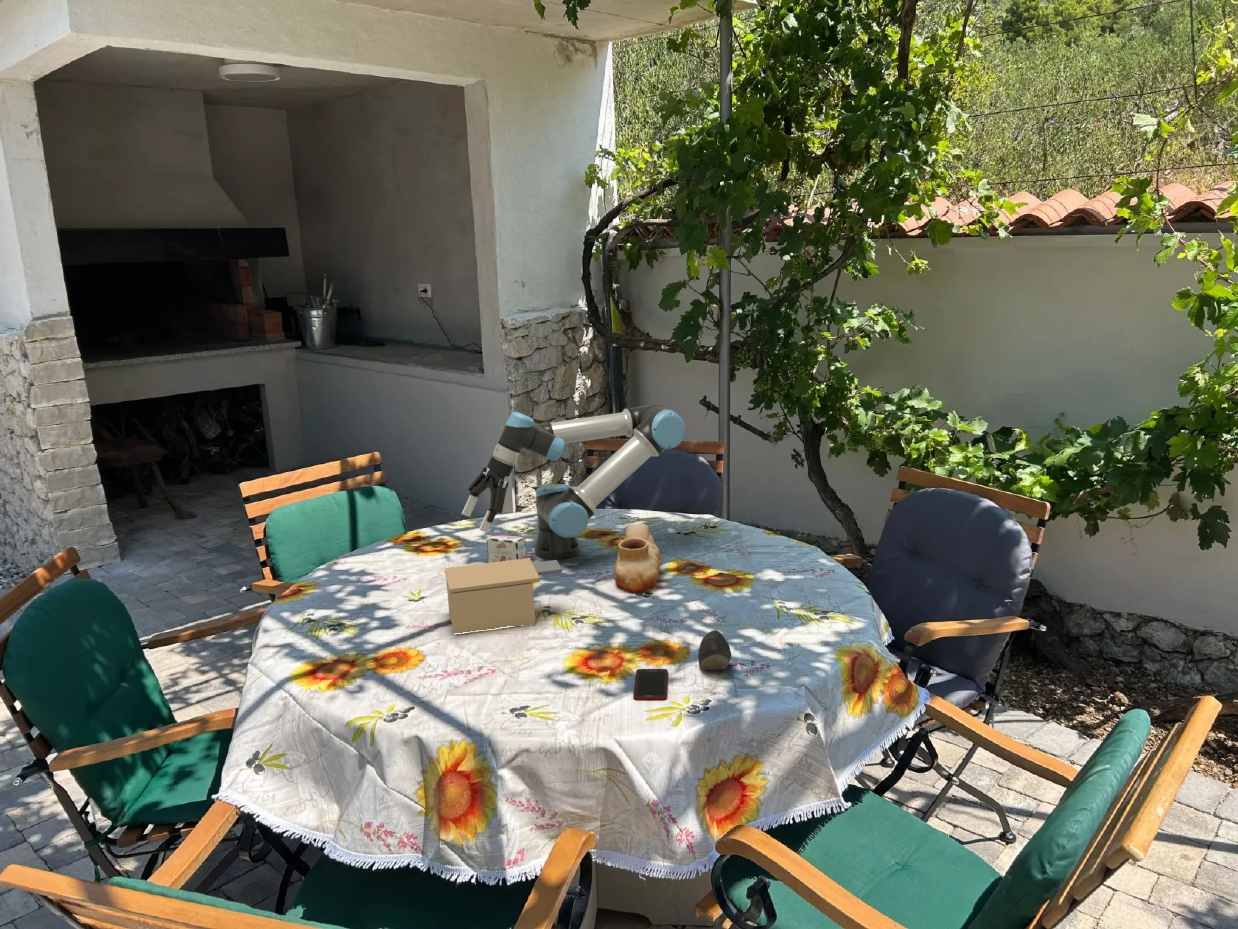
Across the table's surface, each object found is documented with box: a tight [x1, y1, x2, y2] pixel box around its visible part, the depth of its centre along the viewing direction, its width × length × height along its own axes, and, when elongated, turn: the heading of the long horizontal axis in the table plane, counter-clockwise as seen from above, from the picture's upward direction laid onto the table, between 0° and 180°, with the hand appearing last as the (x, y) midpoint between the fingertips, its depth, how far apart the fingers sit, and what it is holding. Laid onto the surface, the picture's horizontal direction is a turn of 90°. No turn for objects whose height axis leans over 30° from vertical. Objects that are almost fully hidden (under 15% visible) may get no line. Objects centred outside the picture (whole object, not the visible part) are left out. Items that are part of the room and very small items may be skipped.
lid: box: [444, 557, 563, 593], centre depth 260 cm, size 31×17×1 cm, turn 104°
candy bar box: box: [486, 533, 528, 563], centre depth 281 cm, size 11×5×16 cm, turn 62°
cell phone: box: [632, 668, 669, 702], centre depth 219 cm, size 8×15×1 cm, turn 176°
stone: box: [697, 629, 732, 671], centre depth 226 cm, size 8×8×10 cm
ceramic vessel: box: [613, 523, 661, 594], centre depth 285 cm, size 14×26×15 cm, turn 174°
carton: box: [445, 578, 536, 634], centre depth 260 cm, size 22×17×12 cm
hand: (474, 522), depth 289 cm, fingers open, 13 cm apart
